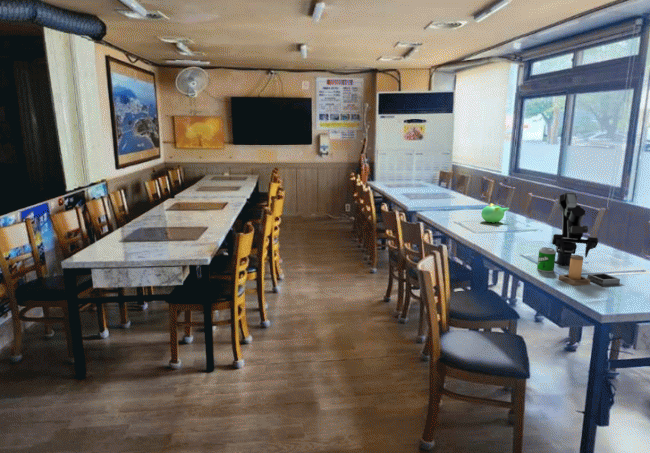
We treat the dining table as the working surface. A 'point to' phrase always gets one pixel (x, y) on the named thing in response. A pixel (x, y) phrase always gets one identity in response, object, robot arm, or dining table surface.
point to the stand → (574, 282)
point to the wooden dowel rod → (575, 267)
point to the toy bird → (493, 213)
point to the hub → (604, 280)
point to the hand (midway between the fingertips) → (574, 256)
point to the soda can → (546, 259)
